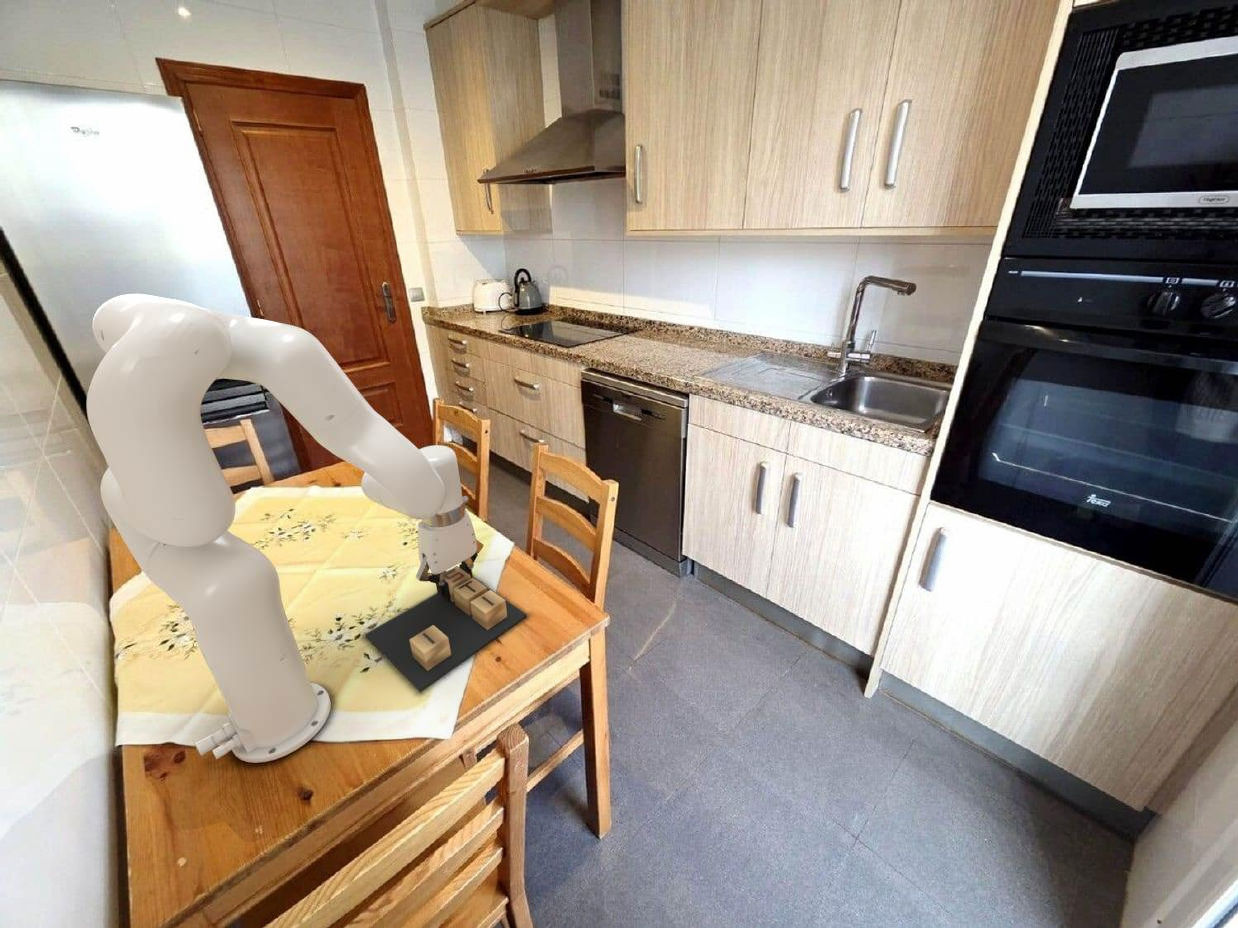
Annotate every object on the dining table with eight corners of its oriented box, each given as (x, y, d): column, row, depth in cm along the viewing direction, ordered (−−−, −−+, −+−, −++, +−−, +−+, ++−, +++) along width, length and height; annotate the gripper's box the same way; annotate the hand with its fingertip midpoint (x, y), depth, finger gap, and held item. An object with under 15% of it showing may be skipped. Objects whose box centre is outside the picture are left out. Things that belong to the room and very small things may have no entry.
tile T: (469, 616, 94) (466, 599, 92) (455, 605, 96) (452, 588, 95) (489, 603, 97) (487, 586, 95) (475, 593, 100) (472, 576, 98)
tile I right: (487, 630, 91) (485, 612, 89) (472, 618, 93) (470, 601, 92) (507, 616, 94) (505, 599, 92) (492, 605, 96) (490, 589, 95)
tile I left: (427, 671, 82) (423, 652, 81) (413, 657, 85) (408, 639, 83) (451, 654, 86) (448, 636, 84) (436, 641, 88) (433, 624, 86)
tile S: (453, 602, 97) (450, 585, 95) (440, 592, 100) (437, 575, 98) (472, 590, 100) (470, 574, 98) (459, 581, 103) (457, 565, 101)
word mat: (420, 691, 80) (419, 689, 79) (365, 636, 90) (365, 634, 90) (526, 616, 95) (526, 614, 94) (469, 576, 105) (469, 574, 105)
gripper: (469, 488, 100) (480, 562, 108) (388, 523, 88) (407, 603, 96) (493, 500, 95) (502, 577, 104) (411, 539, 84) (428, 622, 92)
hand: (456, 589), depth 100 cm, fingers closed on tile S, 4 cm apart
